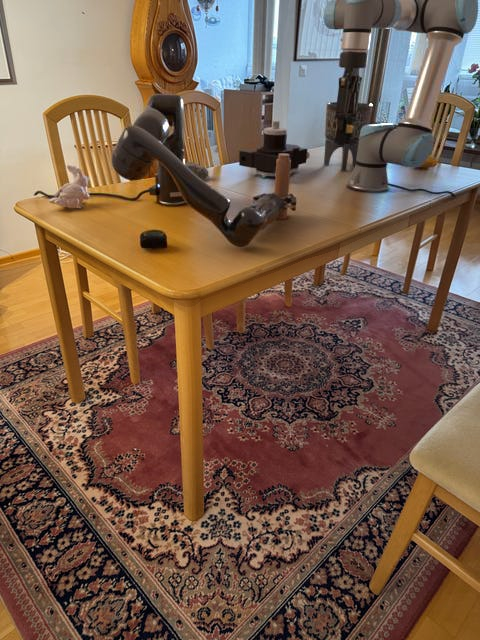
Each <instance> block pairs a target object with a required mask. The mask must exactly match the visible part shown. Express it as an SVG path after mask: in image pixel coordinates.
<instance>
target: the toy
mask: <svg viewBox="0 0 480 640" xmlns="http://www.w3.org/2000/svg"><path fill="white" fill-rule="evenodd" d="M438 164H439V161H438V160H437V159H434V158H433V156H432V155H430V156H429V157H428V159H427V160H426V161H425V162H424V163H423V164H422V165H421V166H419V167H420V168H421V169H431V168H434V167H436V166H438Z"/></svg>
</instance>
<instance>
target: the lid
mask: <svg viewBox="0 0 480 640" xmlns="http://www.w3.org/2000/svg"><path fill="white" fill-rule="evenodd" d="M336 129H337V126H336ZM352 131H353V125H347V127H346V133H352Z"/></svg>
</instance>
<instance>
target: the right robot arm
mask: <svg viewBox="0 0 480 640" xmlns="http://www.w3.org/2000/svg"><path fill="white" fill-rule="evenodd" d="M478 14H479V0H329V1H328V2H327V3H326V5H325V7H324V10H323V23H324V25H325V27H326V28H327V29H329V30H335V31H338V30H342V36H341V37H340V39H339V40H340V42H341V46H340V49H341V52H340V53H339V62H338V67H339V68H344V70H343V74H342V76H341V77H338V89H337V97H336V98H337V99H336V102H337V106H336V114H335V118H338V121H337V129H336V137H335V142H336V143H345V141H350V140H351V133H346V127H347V125H353V118H354V117H357V114H356V113H357V106H358V103H359V100H360V99H359V98H360V91H361V85H362V80H363V76H360V69H365V68H366V67H367V63H368V57H369V54H368V52H367V51H369V50H370V44H371V37H372V29H380V30H386V29H387V30H389V29H392V28H393V29H394V30H396V31H399V32H408V33H409V32H410V33H415V34H416V33H417V34H425V39H426V40H427V46H426V47H425V48H426V50H425V51H424V54H423V58H422V61H421V65H420V67H419V70H418V74H417V76H416V79H415V80H416V81H415V83H414V86H413V89H412V93H411V96H410V99H409V102H408V106H407V109H406V112H405V115H404V118H403V119H401V120H400V121H398V123H397V126H396V128H395V124H393V123H377V124H376V123H375V124H374V123H373V124H369V125H365V126H363V127H362V128H361V132H360V136H359V143H358V151H357V158H356V165H355V166H354V167H353V171H351V174H350V176H349V179H348V182H347V187H348V188H349V189H351V190H354V191H358V192H363V193H364V192H365V193H382V192H386V191H388V189H389V187H393V188H397V189H401V190H403V191H407V192H426V193H428V194H431V195H442V194H449V195H451V196H452V197H456V194H455V193H454V192H453V191H449V190H443V191H433V190H432V191H431V190H429V189H425V188H407V187H404V186H401V185H397V184H393V183H390V182H389V178H388V173H387V172H388V171H387V166H388V164H391V165H397V166H400V167H401V166H402V167H404V168H419V167H420V166H421V165H422V164H423V163H424V162H425V161H426V160H427V159H428V157H429V156H431V154H432V152H433V149H434V145H435V143H434V142H435V137H434V135H433V134H432V130H433V128H432V126H431V123H430V122H431V119H432V116H433V114H434V110H435V107H436V104H437V101H438V98H439V96H440V92H441V89H442V86H443V84H444V81H445V78H446V74H447V71H448V69H449V66H450V63H451V60H452V57H453V53H454V51H455V47H456V46H458V45H459V44H461V43H462V41H463V39H464V36H465V35H466V34H469V33H471V32H472V31H473V29H474V28H475V26H476V24H477V20H478V16H479V15H478Z"/></svg>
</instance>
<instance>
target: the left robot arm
mask: <svg viewBox="0 0 480 640" xmlns="http://www.w3.org/2000/svg"><path fill="white" fill-rule="evenodd" d="M184 119H185V106H184V99H183V97H182V95H180V94H178V93H153V94H152V95H151V96H149V98H148V100H147V102H146V105H145V107H144V109H143V110H142V111H141V113H140V114H139V115H138V116H137V117H136V118H135V120H134V122H133V123H132V124H130V125H127V126H125V128H124V129H123V130H122V132H121V134H120V136H119V138H118V140H117V142H116V144H115V146H114V148H113V150H112V152H111V156H110V161H111V162H110V163H111V165H112V168H113V170H114V171H115V172H116V174H117V175H119V176H120V177H121V178H122V179H125V180H128V181H133V182H134V181H135V182H136V181H141V180H143V179H144V178H146V176H147V175H148V173H149V172H150V170H151V168H152V166H153V165H154V163H155V161H156V173H155V174H154V180H155V181H154V182H155V184H154V185H152V186H150V187H148V188H147V189H145V190H142V191H140V192H139V193H138V194H137V196H135V197H127V196H124V195H120V194H114V193H106V192H88V194H89V197H92V196H98V197H99V196H103V197H112V198H117V199H118V198H119V199H122V200H125V201H131V202H132V201H137V200H139V199H140V198H141V197H142V195H144V194H146V193H149V196H155V197H156V204H157V203H158V204H160V205H164V206H170V207H171V206H173V207H174V206H175V207H177V206H181V205H185V204H187V205H188V206H189V207H190V208H191V209H192V210H194V211H195V212H197V214H199V215H201V216H202V217H204V218H205V219H206V220H208V221H210V222H211V224H213V225H214V226H215V227H216V229H217V230H218V231H219V232H220V233H221V234H222V236H223V237H224V238H225V239H226V240H227V242H229V244H231V245H232V246H233V247H237V248H247V246H249V245H250V244H251V242H252V241H253V240H254V239H255V237H257V235H258V234H259V233H260V232H261V231H263V230H264V229H265V228H267V227H268V226H269V225H271V224H272V223H274V222H275V221H276V220H278V219H277V218H278V217H279V216H280V215H281V213H282V212H283V210H286V209H287V210H288V209H290V210H291V211H292V212H295V211H297V196H296V197H295V195H294V194H293V193H290V192H289V193H288V196H282V197H278V196H277V195H275V191H273V192H271V193H269V192H268V193H261V194H258V195H255V196H253V197H252V204H251V205H244V206H243V207H242V208H241V209H240V210H239V211H238V212H237V213H236V215H235V216H234V218H233V219H232V220H230V219H229V218H228V215H227V214H228V213H229V210H230V207H231V201H230V199H229V198H228V197H227V196H225V195H224V194H222V193H221V192H220V191H218V190H217V189H215V188H214V187H212V186H211V185H210V184H208V183H207V182H206V181H204V179H200V178H199V177H198V176H197V175H195V174H194V173H193V172H192V171H191V170H190V169H189V168H188V167H187V166H186V165H185V164H186V157H185V156H186V155H185V153H186V152H185V125H184V124H185V120H184ZM170 127H171V128H172V131H171V132H170ZM39 194H41V195H42V196H45V197H47V198H49V199H52V198H55V197H57V198H58V197H59V195H58V196H54V195H55V194H53V195H52V194H47V193H46V192H44V191H42V190H37V191H35V192H34V194H33V196H38V195H39Z"/></svg>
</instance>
